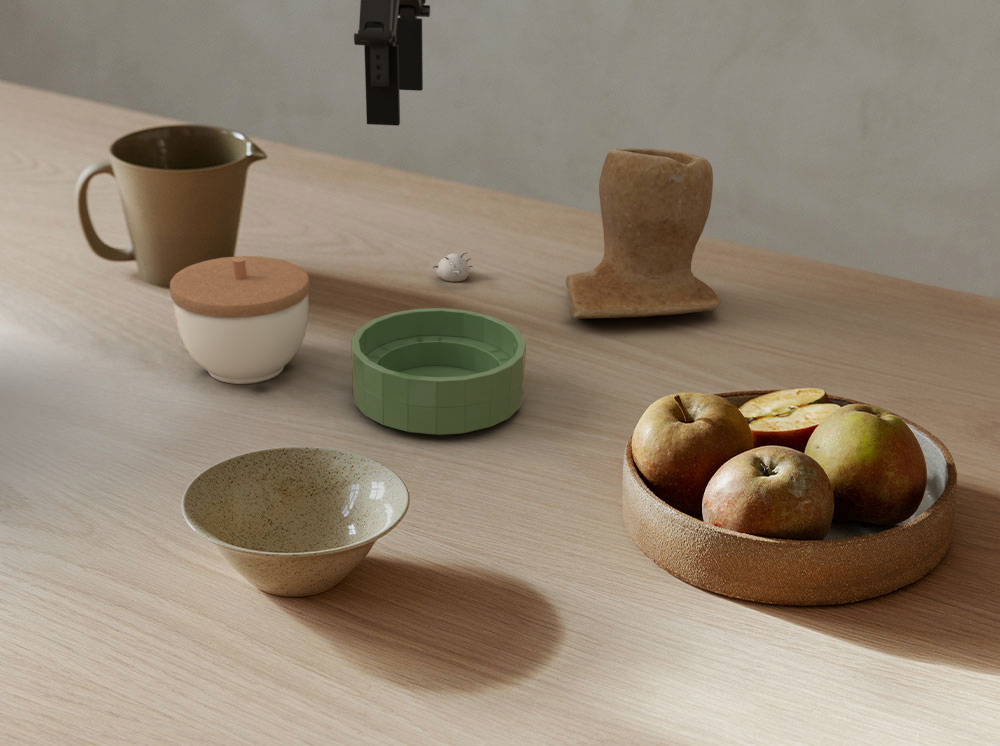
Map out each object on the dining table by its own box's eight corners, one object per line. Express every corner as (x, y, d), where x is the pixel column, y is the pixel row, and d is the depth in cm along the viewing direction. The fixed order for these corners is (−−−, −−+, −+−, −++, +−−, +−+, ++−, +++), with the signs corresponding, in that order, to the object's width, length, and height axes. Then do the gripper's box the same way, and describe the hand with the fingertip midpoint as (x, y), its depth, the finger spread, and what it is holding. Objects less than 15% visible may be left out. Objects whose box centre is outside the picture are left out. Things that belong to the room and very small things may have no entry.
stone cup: (682, 278, 112) (699, 131, 105) (732, 325, 102) (754, 165, 95) (539, 287, 109) (547, 135, 102) (575, 336, 98) (587, 171, 92)
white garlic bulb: (476, 280, 109) (477, 255, 108) (438, 284, 108) (438, 259, 107) (466, 269, 112) (466, 245, 111) (428, 273, 111) (428, 248, 110)
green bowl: (359, 447, 79) (358, 385, 77) (347, 367, 91) (346, 311, 89) (538, 436, 82) (542, 375, 80) (504, 359, 93) (507, 304, 91)
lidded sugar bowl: (165, 352, 92) (154, 246, 88) (289, 332, 97) (284, 230, 93) (196, 408, 84) (185, 293, 80) (331, 383, 88) (327, 273, 84)
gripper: (414, -152, 78) (417, 143, 88) (455, -158, 101) (454, 78, 110) (310, -155, 79) (324, 139, 88) (373, -160, 101) (379, 75, 111)
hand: (396, 106), depth 99 cm, fingers open, 13 cm apart
